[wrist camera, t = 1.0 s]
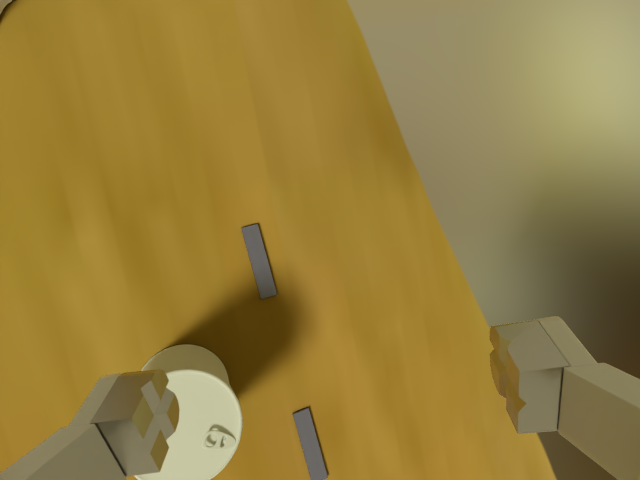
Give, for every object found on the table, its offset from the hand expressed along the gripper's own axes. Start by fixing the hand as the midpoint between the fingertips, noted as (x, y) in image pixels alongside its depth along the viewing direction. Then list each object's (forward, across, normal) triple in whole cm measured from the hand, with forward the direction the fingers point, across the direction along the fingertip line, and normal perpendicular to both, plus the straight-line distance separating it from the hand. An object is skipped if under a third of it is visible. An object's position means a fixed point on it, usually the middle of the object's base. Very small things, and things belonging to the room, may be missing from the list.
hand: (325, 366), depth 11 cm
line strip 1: (+33, +10, +14) cm, 37 cm away
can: (+24, +19, +23) cm, 38 cm away
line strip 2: (+24, +8, +33) cm, 42 cm away
